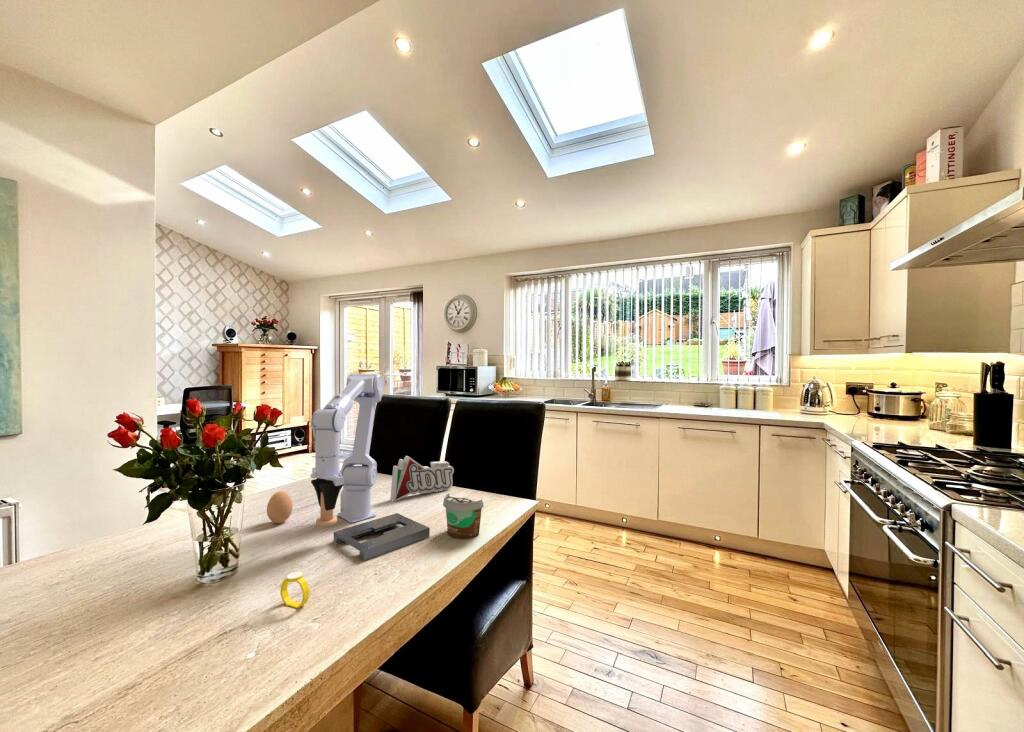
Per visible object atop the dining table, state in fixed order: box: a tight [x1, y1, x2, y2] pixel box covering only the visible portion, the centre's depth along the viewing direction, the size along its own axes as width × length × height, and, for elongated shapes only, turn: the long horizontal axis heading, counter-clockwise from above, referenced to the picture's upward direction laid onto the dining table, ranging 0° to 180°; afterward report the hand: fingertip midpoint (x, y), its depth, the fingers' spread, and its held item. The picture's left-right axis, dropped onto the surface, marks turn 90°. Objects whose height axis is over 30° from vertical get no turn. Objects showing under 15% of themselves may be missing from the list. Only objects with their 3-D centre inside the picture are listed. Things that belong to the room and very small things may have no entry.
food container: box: [442, 492, 485, 540], centre depth 113 cm, size 12×6×10 cm, turn 62°
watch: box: [279, 571, 310, 609], centre depth 79 cm, size 6×3×6 cm, turn 71°
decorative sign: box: [389, 455, 455, 502], centre depth 149 cm, size 23×3×15 cm, turn 130°
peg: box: [315, 492, 338, 528], centre depth 106 cm, size 5×5×8 cm
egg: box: [266, 490, 294, 524], centre depth 120 cm, size 7×7×9 cm
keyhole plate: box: [333, 513, 431, 562], centre depth 110 cm, size 16×19×2 cm
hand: (327, 507), depth 106 cm, fingers closed on peg, 3 cm apart
